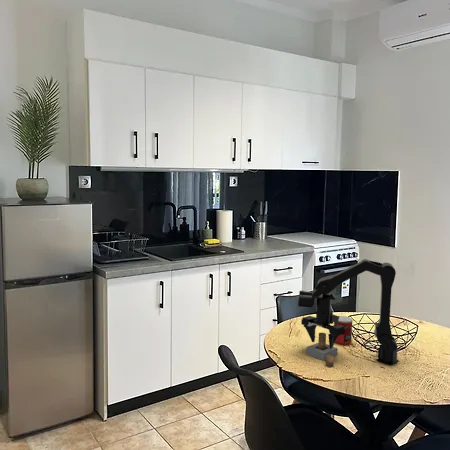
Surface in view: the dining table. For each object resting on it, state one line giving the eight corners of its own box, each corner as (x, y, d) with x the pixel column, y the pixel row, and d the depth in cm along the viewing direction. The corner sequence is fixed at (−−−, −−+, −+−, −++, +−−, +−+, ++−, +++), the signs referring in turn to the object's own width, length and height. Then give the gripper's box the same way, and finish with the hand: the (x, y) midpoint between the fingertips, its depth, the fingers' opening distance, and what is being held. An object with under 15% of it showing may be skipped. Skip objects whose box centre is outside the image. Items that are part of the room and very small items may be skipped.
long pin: (326, 354, 196) (327, 334, 195) (322, 356, 194) (323, 335, 193) (321, 352, 198) (321, 332, 197) (316, 354, 197) (317, 333, 195)
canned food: (347, 347, 205) (348, 322, 204) (330, 342, 210) (331, 318, 209) (354, 342, 211) (355, 318, 210) (337, 337, 216) (338, 314, 215)
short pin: (335, 366, 185) (335, 356, 185) (330, 368, 183) (330, 358, 183) (328, 363, 188) (329, 353, 187) (324, 365, 186) (324, 355, 185)
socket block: (337, 355, 196) (337, 348, 196) (323, 360, 190) (323, 353, 190) (319, 348, 203) (320, 342, 202) (306, 353, 197) (306, 346, 197)
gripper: (354, 310, 192) (352, 347, 194) (317, 300, 206) (316, 334, 208) (337, 315, 185) (336, 354, 187) (301, 305, 199) (299, 340, 201)
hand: (322, 345), depth 196 cm, fingers open, 9 cm apart
